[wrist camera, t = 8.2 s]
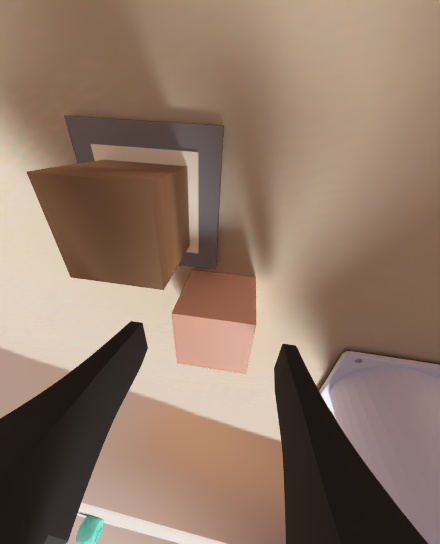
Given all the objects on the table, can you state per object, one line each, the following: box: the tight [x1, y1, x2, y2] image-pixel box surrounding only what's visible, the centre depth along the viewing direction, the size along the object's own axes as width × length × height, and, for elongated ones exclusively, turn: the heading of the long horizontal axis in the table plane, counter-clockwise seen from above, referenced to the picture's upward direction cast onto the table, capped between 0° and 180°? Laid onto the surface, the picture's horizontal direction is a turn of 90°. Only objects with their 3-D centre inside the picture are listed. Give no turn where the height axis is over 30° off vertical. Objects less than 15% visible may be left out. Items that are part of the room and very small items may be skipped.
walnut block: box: [27, 160, 190, 290], centre depth 9 cm, size 4×4×4 cm
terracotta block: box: [172, 270, 256, 374], centre depth 12 cm, size 4×4×4 cm
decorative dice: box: [76, 515, 103, 544], centre depth 100 cm, size 8×8×8 cm
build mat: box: [64, 116, 224, 269], centre depth 11 cm, size 7×7×1 cm
